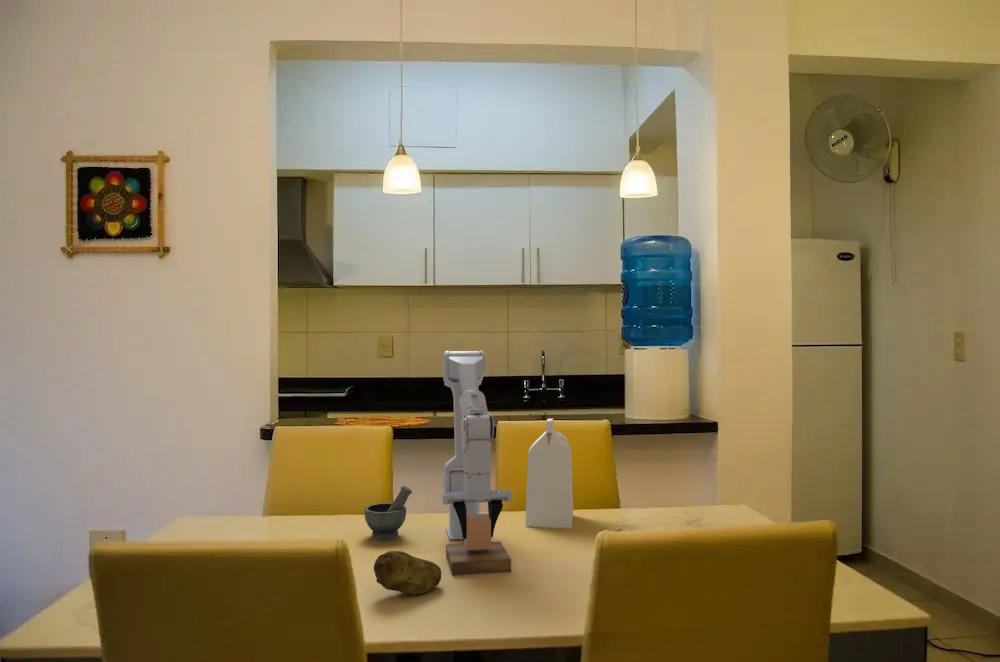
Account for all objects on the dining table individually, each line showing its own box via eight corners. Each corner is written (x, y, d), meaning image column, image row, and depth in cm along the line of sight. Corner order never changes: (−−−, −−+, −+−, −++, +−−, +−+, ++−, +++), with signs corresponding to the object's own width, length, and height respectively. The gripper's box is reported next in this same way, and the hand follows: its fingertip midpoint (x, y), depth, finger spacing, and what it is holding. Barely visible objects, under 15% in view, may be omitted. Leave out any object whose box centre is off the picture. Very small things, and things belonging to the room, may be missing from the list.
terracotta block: (464, 542, 148) (464, 514, 148) (487, 541, 149) (487, 513, 149) (467, 550, 143) (466, 520, 143) (491, 548, 144) (490, 519, 144)
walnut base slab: (445, 556, 151) (445, 544, 151) (500, 553, 153) (500, 541, 153) (451, 575, 139) (451, 562, 139) (510, 571, 141) (510, 559, 141)
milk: (529, 514, 186) (529, 416, 186) (573, 515, 185) (573, 417, 185) (525, 526, 174) (525, 422, 175) (571, 528, 173) (571, 423, 173)
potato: (446, 598, 127) (446, 554, 127) (374, 604, 124) (374, 559, 124) (439, 582, 135) (439, 541, 135) (372, 588, 132) (372, 545, 132)
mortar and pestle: (361, 543, 161) (361, 491, 161) (366, 531, 170) (366, 482, 170) (410, 542, 161) (410, 490, 161) (413, 530, 171) (413, 481, 171)
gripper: (444, 477, 141) (444, 544, 141) (514, 474, 144) (515, 540, 144) (441, 470, 148) (441, 534, 148) (508, 467, 151) (508, 530, 151)
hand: (477, 536), depth 146 cm, fingers closed on terracotta block, 5 cm apart
